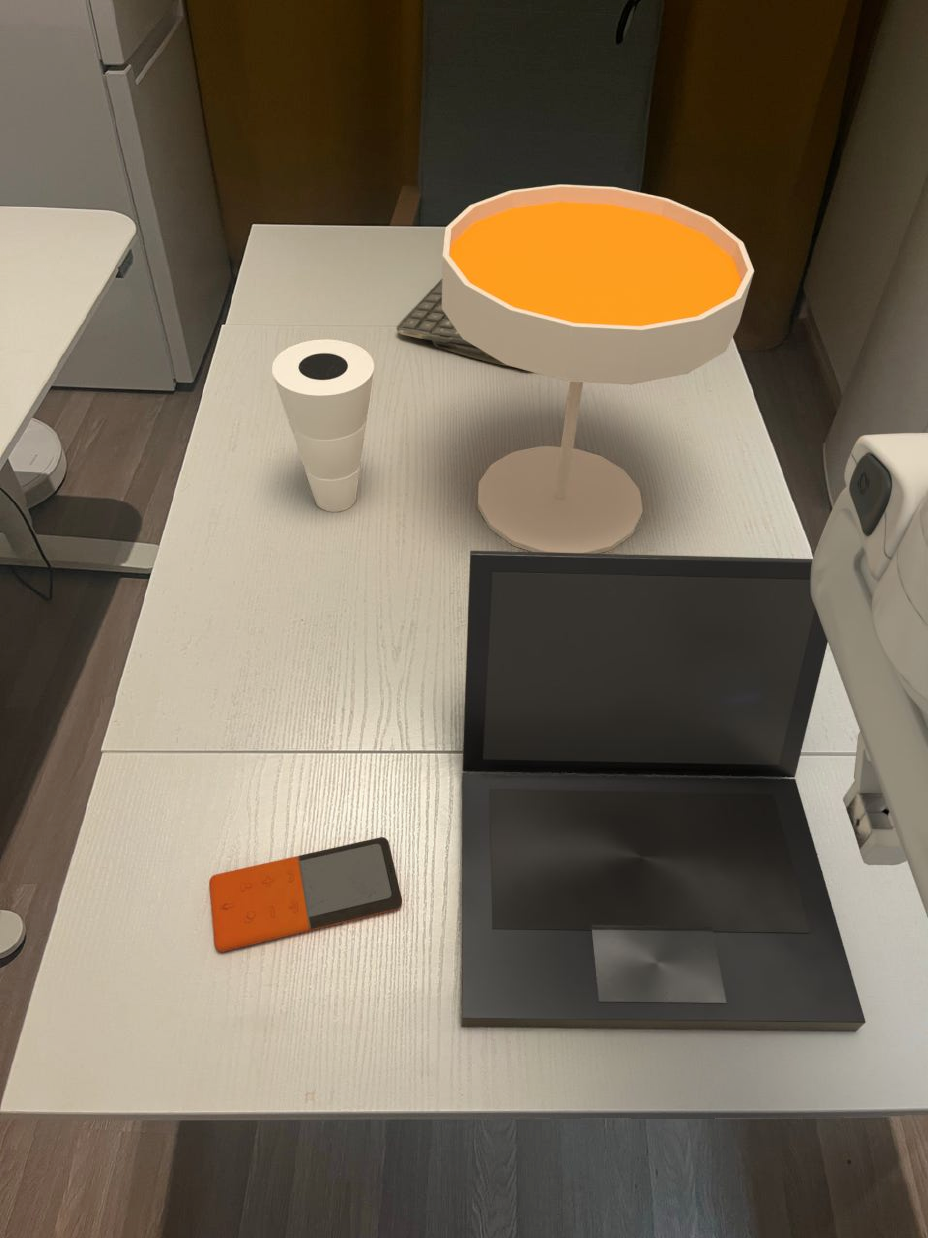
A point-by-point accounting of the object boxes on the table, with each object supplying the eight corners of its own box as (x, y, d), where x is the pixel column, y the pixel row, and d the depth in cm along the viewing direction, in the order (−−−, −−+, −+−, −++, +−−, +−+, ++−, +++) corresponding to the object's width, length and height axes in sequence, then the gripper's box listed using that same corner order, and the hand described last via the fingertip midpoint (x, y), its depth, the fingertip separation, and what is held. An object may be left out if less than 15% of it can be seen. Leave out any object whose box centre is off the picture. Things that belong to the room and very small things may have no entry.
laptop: (620, 283, 145) (632, 219, 137) (555, 383, 125) (564, 314, 117) (476, 250, 151) (479, 186, 143) (392, 339, 131) (390, 271, 123)
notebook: (856, 1031, 68) (866, 1022, 66) (461, 1027, 67) (461, 1017, 65) (788, 790, 82) (795, 778, 80) (461, 784, 81) (462, 772, 79)
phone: (207, 873, 73) (386, 832, 76) (209, 880, 74) (387, 840, 77) (213, 949, 69) (403, 903, 72) (216, 956, 70) (403, 910, 73)
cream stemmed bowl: (523, 401, 122) (547, 161, 99) (722, 487, 111) (802, 239, 88) (386, 515, 105) (376, 257, 82) (605, 629, 94) (664, 369, 71)
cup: (398, 493, 108) (394, 362, 95) (339, 541, 102) (327, 407, 89) (332, 459, 112) (319, 328, 99) (271, 503, 106) (250, 370, 93)
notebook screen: (847, 563, 71) (843, 559, 72) (470, 554, 70) (470, 550, 71) (795, 778, 80) (791, 772, 81) (462, 772, 79) (462, 766, 80)
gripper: (1380, 951, 20) (1056, 1111, 30) (1007, 414, 34) (871, 650, 44) (1104, 948, 20) (872, 1110, 30) (842, 410, 34) (744, 647, 44)
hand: (870, 833), depth 37 cm, fingers closed
